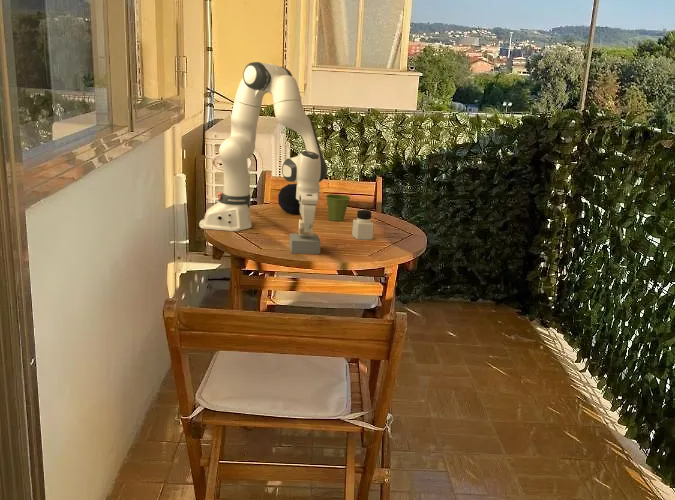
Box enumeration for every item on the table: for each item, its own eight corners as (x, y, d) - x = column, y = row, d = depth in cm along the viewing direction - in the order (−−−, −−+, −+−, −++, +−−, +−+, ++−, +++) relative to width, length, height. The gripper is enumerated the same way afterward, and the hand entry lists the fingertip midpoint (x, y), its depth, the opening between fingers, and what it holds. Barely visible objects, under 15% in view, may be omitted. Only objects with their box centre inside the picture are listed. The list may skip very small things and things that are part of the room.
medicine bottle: (372, 239, 271) (375, 212, 267) (356, 239, 269) (359, 212, 265) (367, 235, 277) (369, 208, 274) (351, 235, 275) (354, 208, 272)
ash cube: (299, 235, 244) (300, 222, 243) (298, 231, 249) (299, 219, 248) (312, 235, 245) (313, 223, 244) (311, 232, 250) (311, 220, 249)
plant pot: (344, 224, 293) (346, 200, 290) (320, 220, 297) (321, 197, 294) (352, 219, 304) (353, 196, 301) (328, 215, 307) (330, 192, 304)
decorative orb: (287, 196, 318) (281, 175, 306) (315, 200, 313) (309, 179, 302) (277, 217, 310) (270, 196, 298) (305, 222, 305) (299, 201, 294)
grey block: (291, 253, 243) (292, 240, 241) (289, 245, 253) (289, 233, 252) (319, 254, 245) (320, 241, 243) (316, 246, 255) (317, 234, 254)
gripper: (297, 189, 252) (295, 222, 256) (301, 200, 233) (299, 236, 237) (312, 189, 253) (310, 223, 257) (318, 201, 234) (316, 237, 238)
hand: (305, 229), depth 247 cm, fingers closed on ash cube, 5 cm apart
